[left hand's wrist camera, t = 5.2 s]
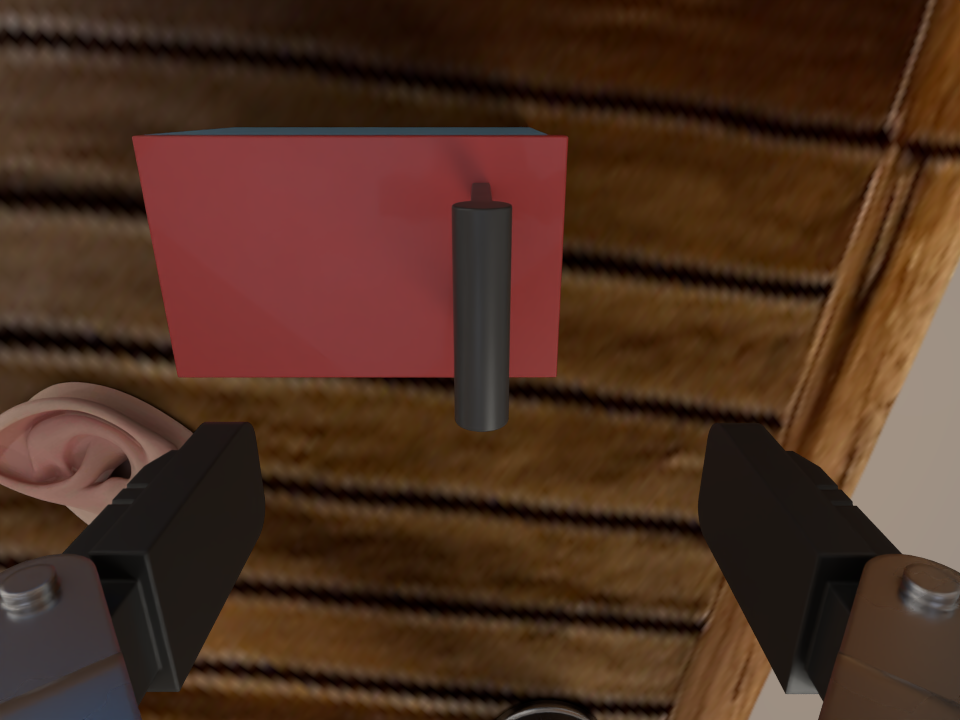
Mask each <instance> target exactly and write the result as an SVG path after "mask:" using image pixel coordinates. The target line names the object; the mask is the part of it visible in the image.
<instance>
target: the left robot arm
mask: <svg viewBox="0 0 960 720" xmlns="http://www.w3.org/2000/svg"><path fill="white" fill-rule="evenodd" d="M698 515H699V522H700V527H701V531H702V534H703V536H704V538H705V540H706V542H707V544H708V546H709V548H710V550H711V552H712V553H713V555H714V557H715V559H716V561H717V563H718V565H719V567H720V569H721V571H722V573H723V575H724V577H725V578H726V580H727V582H728V584H729V586H730V588H731V590H732V592H733V594H734V596H735V598H736V600H737V601H738V603H739V605H740V607H741V609H742V611H743V613H744V615H745V617H746V619H747V621H748V623H749V625H750V626H751V628H752V630H753V632H754V634H755V636H756V638H757V640H758V642H759V644H760V646H761V648H762V649H763V651H764V653H765V655H766V657H767V659H768V661H769V663H770V665H771V667H772V669H773V671H774V672H775V674H776V676H777V678H778V680H779V682H780V684H781V686H782V688H783V690H784V692H785V694H819V695H820V697H821V698H822V700H823V705H822V708H821V712H820V715H819V719H818V720H960V573H959V572H957V571H955V570H953V569H951V568H949V567H947V566H945V565H942V564H940V563H937V562H934V561H931V560H928V559H925V558H921V557H916V556H912V555H904V554H902V553H901V552H900V551H899V550H898V549H897V548H896V547H895V546H894V545H893V544H892V543H891V542H890V541H889V540H888V539H887V538H886V536H885V535H884V534H883V533H882V532H881V531H880V530H879V529H878V528H877V527H876V526H875V525H874V524H873V523H872V522H871V521H870V520H869V519H868V517H867V516H866V515H865V514H864V513H863V512H862V511H861V510H860V509H859V508H858V507H857V506H853V502H852V501H851V499H850V498H849V497H848V496H847V495H846V494H845V493H844V492H843V491H842V490H838V486H837V485H836V484H835V483H834V481H833V480H832V479H831V478H830V477H829V476H828V475H827V474H826V473H825V472H824V471H823V470H822V469H821V468H820V467H819V466H817V465H816V464H814V463H812V462H810V461H809V460H807V459H805V458H804V457H802V456H800V455H798V454H797V453H795V452H793V451H785V450H784V449H783V448H782V447H781V446H780V444H779V443H778V442H777V441H776V440H775V439H774V438H773V436H772V435H771V434H770V433H769V432H768V431H767V430H766V429H765V427H764V426H763V425H761V424H759V423H715V424H713V425H712V427H711V429H710V431H709V434H708V440H707V446H706V453H705V460H704V466H703V473H702V480H701V486H700V493H699V500H698ZM264 516H265V496H264V490H263V483H262V476H261V469H260V463H259V456H258V449H257V442H256V436H255V432H254V429H253V427H252V425H251V424H250V423H249V422H204V423H202V424H201V425H200V426H199V427H198V429H197V430H196V431H195V432H194V433H193V434H192V435H191V437H190V438H189V439H188V440H187V441H186V442H185V443H184V444H183V446H182V447H181V448H180V449H179V450H170V451H169V452H167V453H165V454H164V455H162V456H160V457H159V458H157V459H155V460H153V461H152V462H150V463H148V464H147V465H145V466H144V467H143V468H142V469H141V470H140V471H139V472H138V473H137V474H136V475H135V476H134V477H133V478H132V480H131V481H130V482H129V483H128V484H127V488H123V489H122V490H121V491H120V492H119V493H118V494H117V496H116V497H115V498H114V499H113V500H112V504H108V505H107V506H106V507H105V508H104V509H103V510H102V512H101V513H100V514H99V515H98V516H97V517H96V518H95V519H94V520H93V521H92V522H91V523H90V524H89V525H88V527H87V528H86V529H85V530H84V531H83V532H82V533H81V534H80V535H79V536H78V537H77V538H76V539H75V540H74V541H73V543H72V544H71V545H70V546H69V547H68V548H67V549H66V550H65V551H64V552H63V553H62V554H56V555H48V556H44V557H39V558H35V559H32V560H29V561H26V562H23V563H20V564H18V565H15V566H13V567H11V568H9V569H7V570H5V571H3V572H1V573H0V720H142V719H141V715H140V712H139V708H138V705H139V704H140V702H141V700H142V698H143V697H144V695H145V693H146V692H179V691H180V689H181V687H182V685H183V683H184V681H185V679H186V677H187V676H188V674H189V672H190V670H191V668H192V666H193V664H194V662H195V660H196V658H197V656H198V654H199V652H200V650H201V648H202V646H203V644H204V643H205V641H206V639H207V637H208V635H209V633H210V631H211V629H212V627H213V625H214V623H215V621H216V619H217V617H218V615H219V613H220V611H221V609H222V608H223V606H224V604H225V602H226V600H227V598H228V596H229V594H230V592H231V590H232V588H233V586H234V584H235V582H236V580H237V578H238V576H239V575H240V573H241V571H242V569H243V567H244V565H245V563H246V561H247V559H248V557H249V555H250V553H251V551H252V549H253V547H254V545H255V543H256V541H257V540H258V538H259V536H260V533H261V530H262V527H263V523H264ZM496 720H596V719H595V718H594V717H593V716H592V715H591V714H590V713H589V712H587V711H586V710H584V709H582V708H581V707H578V706H576V705H574V704H571V703H567V702H563V701H556V700H538V701H531V702H527V703H523V704H520V705H518V706H515V707H513V708H511V709H509V710H507V711H506V712H504V713H503V714H502V715H500V716H499V717H498V718H497V719H496Z"/></svg>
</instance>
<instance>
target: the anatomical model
mask: <svg viewBox="0 0 960 720" xmlns="http://www.w3.org/2000/svg"><path fill="white" fill-rule="evenodd" d="M192 434H193V433H192V432H191V431H190V430H188V429H187V428H185V427H184V426H183V425H181V424H180V423H178V422H177V421H175V420H174V419H172V418H171V417H169V416H168V415H166V414H164V413H163V412H161V411H159V410H158V409H156V408H154V407H153V406H151V405H149V404H147V403H145V402H143V401H141V400H139V399H137V398H135V397H133V396H131V395H128V394H126V393H123V392H121V391H118V390H115V389H112V388H109V387H105V386H101V385H96V384H90V383H81V382H67V383H60V384H56V385H52V386H50V387H48V388H46V389H44V390H42V391H40V392H39V393H38V394H36V395H35V396H34V397H32V398H31V399H30V400H29V401H28V402H24V403H22V404H19V405H17V406H14V407H13V408H11V409H9V410H7V411H5V412H4V413H2V414H1V415H0V484H2V485H4V486H6V487H8V488H11V489H13V490H15V491H18V492H20V493H23V494H26V495H29V496H32V497H35V498H38V499H41V500H44V501H49V502H53V503H57V504H61V505H66V506H67V507H68V508H69V509H70V510H71V511H72V512H74V513H75V514H76V515H77V516H78V517H79V518H81V519H82V520H83V521H84V522H86V523H87V524H88V525H89V524H90V523H91V522H92V521H93V520H94V519H95V518H96V517H97V516H98V515H99V514H100V513H101V512H102V510H103V509H104V508H105V507H106V506H107V505H108V504H112V500H113V499H114V498H115V497H116V496H117V494H118V493H119V492H120V491H121V490H122V489H123V488H127V484H128V483H129V482H130V481H131V480H132V478H133V477H134V476H135V475H136V474H137V473H138V472H139V471H140V470H141V469H142V468H143V467H144V466H145V465H147V464H148V463H150V462H152V461H153V460H155V459H157V458H159V457H160V456H162V455H164V454H165V453H167V452H169V451H170V450H179V449H180V448H181V447H182V446H183V444H184V443H185V442H186V441H187V440H188V439H189V438H190V437H191V435H192Z"/></svg>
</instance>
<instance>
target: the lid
mask: <svg viewBox="0 0 960 720" xmlns="http://www.w3.org/2000/svg"><path fill="white" fill-rule="evenodd" d="M132 140H133V145H134V150H135V156H136V161H137V166H138V171H139V176H140V182H141V187H142V192H143V197H144V202H145V208H146V213H147V218H148V223H149V228H150V234H151V239H152V244H153V249H154V255H155V260H156V265H157V270H158V275H159V281H160V286H161V291H162V296H163V301H164V307H165V312H166V317H167V322H168V327H169V333H170V338H171V343H172V348H173V354H174V359H175V364H176V369H177V374H178V377H454V392H455V421H456V423H457V424H458V425H459V426H460V427H462V428H464V429H467V430H471V431H478V432H486V431H493V430H497V429H499V428H501V427H503V426H504V425H506V423H507V422H508V414H509V377H556V376H557V357H558V336H559V315H560V295H561V274H562V254H563V233H564V213H565V192H566V171H567V151H568V136H565V135H137V136H133V137H132Z"/></svg>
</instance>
